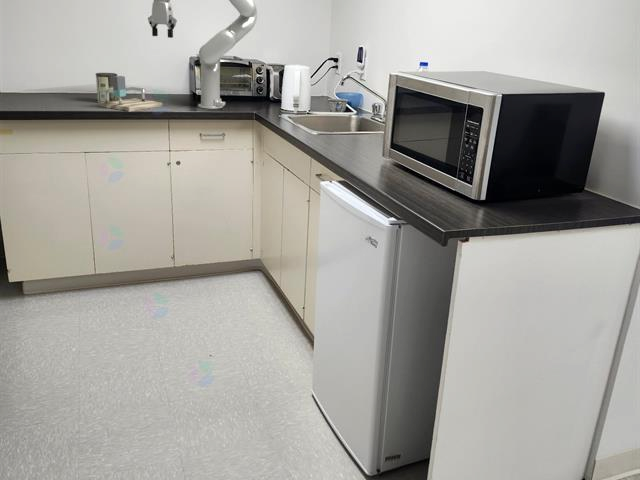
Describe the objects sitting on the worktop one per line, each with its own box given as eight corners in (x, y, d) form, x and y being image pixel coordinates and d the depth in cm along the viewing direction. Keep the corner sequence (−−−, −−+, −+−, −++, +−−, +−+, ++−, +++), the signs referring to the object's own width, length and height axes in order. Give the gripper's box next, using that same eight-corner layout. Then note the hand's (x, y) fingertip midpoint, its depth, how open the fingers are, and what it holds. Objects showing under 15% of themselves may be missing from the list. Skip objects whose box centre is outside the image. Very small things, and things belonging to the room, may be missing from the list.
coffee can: (118, 100, 306) (116, 72, 301) (119, 103, 297) (117, 75, 292) (97, 100, 302) (95, 72, 297) (97, 103, 293) (95, 74, 288)
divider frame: (146, 101, 297) (145, 88, 295) (116, 105, 280) (116, 91, 278) (134, 99, 300) (133, 86, 298) (104, 103, 283) (103, 90, 281)
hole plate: (162, 106, 297) (162, 102, 296) (129, 111, 277) (129, 107, 276) (134, 102, 304) (134, 98, 303) (101, 106, 284) (100, 102, 284)
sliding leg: (127, 103, 284) (125, 76, 280) (119, 104, 280) (117, 77, 275) (120, 102, 286) (119, 75, 281) (113, 103, 282) (111, 76, 277)
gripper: (180, 1, 284) (181, 38, 290) (152, -1, 291) (154, 35, 297) (170, 0, 278) (171, 38, 284) (142, -2, 285) (143, 35, 291)
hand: (162, 36), depth 291 cm, fingers open, 9 cm apart
